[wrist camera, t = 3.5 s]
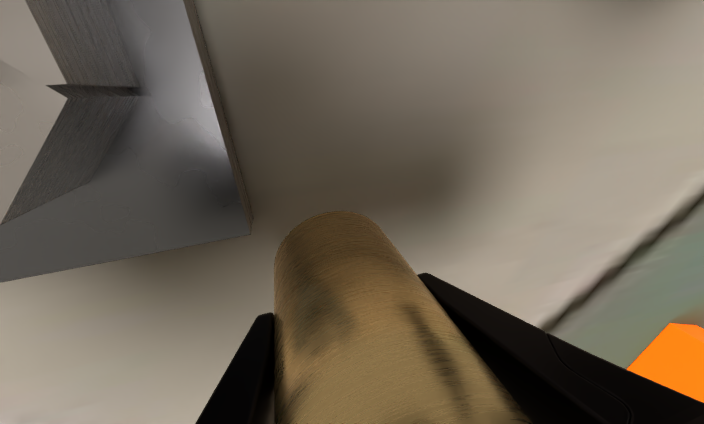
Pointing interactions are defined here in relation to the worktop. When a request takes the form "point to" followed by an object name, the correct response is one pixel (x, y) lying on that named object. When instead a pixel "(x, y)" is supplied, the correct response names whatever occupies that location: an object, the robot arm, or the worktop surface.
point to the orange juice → (675, 360)
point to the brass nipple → (370, 337)
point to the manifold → (110, 135)
